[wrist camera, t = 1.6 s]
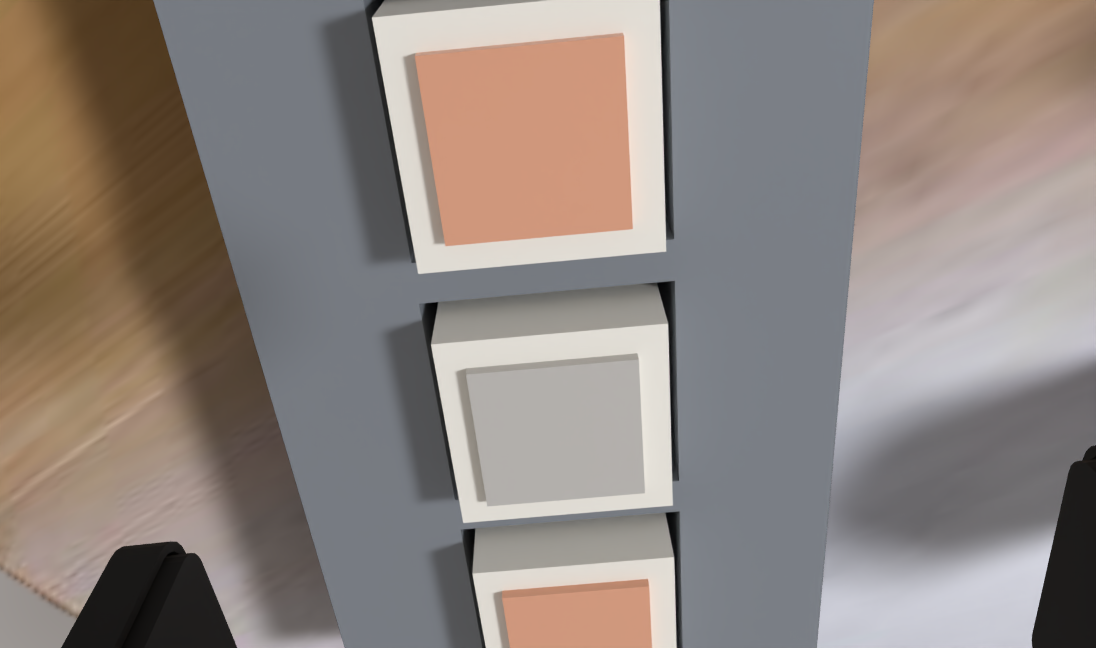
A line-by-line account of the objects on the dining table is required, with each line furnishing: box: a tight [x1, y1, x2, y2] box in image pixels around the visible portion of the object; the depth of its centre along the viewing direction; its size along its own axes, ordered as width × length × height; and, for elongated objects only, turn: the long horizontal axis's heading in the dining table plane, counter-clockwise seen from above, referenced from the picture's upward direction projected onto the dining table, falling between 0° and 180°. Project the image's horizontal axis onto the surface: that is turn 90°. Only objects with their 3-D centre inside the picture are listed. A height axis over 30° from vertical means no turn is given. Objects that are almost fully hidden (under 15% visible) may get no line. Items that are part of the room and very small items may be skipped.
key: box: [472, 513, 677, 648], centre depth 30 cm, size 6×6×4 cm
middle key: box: [431, 282, 673, 523], centre depth 26 cm, size 6×6×4 cm
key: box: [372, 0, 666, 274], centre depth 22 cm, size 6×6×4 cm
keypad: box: [153, 0, 874, 648], centre depth 28 cm, size 26×16×5 cm, turn 5°
